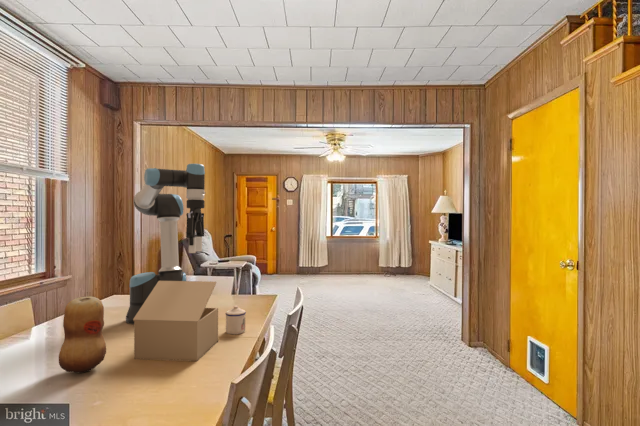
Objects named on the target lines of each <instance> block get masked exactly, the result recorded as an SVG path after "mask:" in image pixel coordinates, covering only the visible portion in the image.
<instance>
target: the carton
mask: <svg viewBox="0 0 640 426" xmlns="http://www.w3.org/2000/svg"><path fill="white" fill-rule="evenodd" d="M133 325H134V326H133V327H134V328H133V329H134V332H133V334H134V335H133V337H134V338H133V340H134V341H133V342H134V343H133V347H134V348H133V349H134V350H133V354H134V355H133V356H134V357H133V359H134V360H155V361H156V360H158V361H182V362H185V361H186V362H199V360H200V359H201V358H202V357H203V356H204V355H205V354H206V353H207V352H209V350H211V348H213V347H214V346H215V345H216V344H217V343H219V307H205V309H204V311H203V313H202V316H201V318H200V320H199V322H198V323H189V322H149V321H134V324H133Z"/></svg>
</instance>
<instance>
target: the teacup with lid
mask: <svg viewBox="0 0 640 426" xmlns="http://www.w3.org/2000/svg"><path fill="white" fill-rule="evenodd" d="M232 307H233V308H231V309H228V310H227V311H225V314H224V315H225V332H226V334H228V335H240V334H243V333H245V331H246V313H247V312H246V310H245V309H242V308H241V307H239V306H238V305H233V306H232Z"/></svg>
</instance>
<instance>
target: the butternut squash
mask: <svg viewBox="0 0 640 426" xmlns="http://www.w3.org/2000/svg"><path fill="white" fill-rule="evenodd" d="M104 313H105V308H104V305H103V302H102V300H100V299H99V298H98V297H95V296H81V297H76V298H74V299H72V300H71V301H69V302H68V303H67V304H66V306H65V309H64V313H63V314H64V315H63V321H62V327H63V332H64V334H63V335H64V340H63V343H62V345H61V348H60V350H59V352H58V365H59V367H60V368H61V369H62V370H64V371H65V372H67V373H75V374H76V373H79V374H83V373H84V374H85V373H87V372H90V371H92V370H93V369H95V368H96V367H97V366H99V365H100V364H101V363H102V362H103V361H104V360H105V356H106V354H107V344H106V341H105V338H104V334H103V328H104V325H105V320H104V315H105V314H104Z"/></svg>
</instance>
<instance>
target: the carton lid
mask: <svg viewBox="0 0 640 426" xmlns="http://www.w3.org/2000/svg"><path fill="white" fill-rule="evenodd" d="M216 285H217V281H208V280H207V281H202V280H201V281H197V280H196V281H194V280H193V281H191V280H189V281H188V280H186V281H158V283H157V284H156V286H155V287H154V289H153V290H152V292H151V293H150V295H149V296H148V298H147V299H146V301H145V302H144V304H143V305H142V307H141V308H140V310H139V311H138V313H137V314H136V316H135V317H134V319H133V321H149V322H189V323H198V322H199V320H200V318H201V316H202V313H203V311H204V309H205V308H207V305H208V302H209V300H210V298H211V296H212V295H213V291H214V289H215V287H216Z"/></svg>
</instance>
